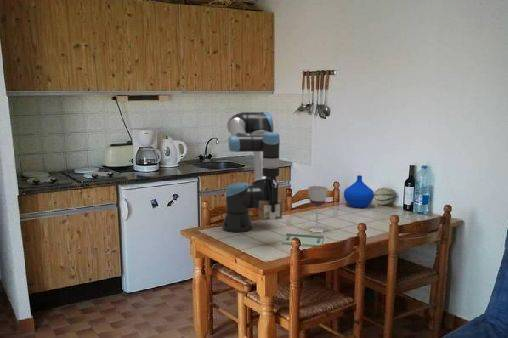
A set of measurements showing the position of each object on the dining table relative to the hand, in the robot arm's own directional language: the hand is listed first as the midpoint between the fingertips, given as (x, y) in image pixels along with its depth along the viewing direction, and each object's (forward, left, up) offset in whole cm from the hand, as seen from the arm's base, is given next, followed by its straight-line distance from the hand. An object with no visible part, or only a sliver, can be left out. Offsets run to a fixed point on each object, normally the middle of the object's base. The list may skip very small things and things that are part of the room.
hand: (270, 217), depth 210 cm
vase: (+37, +85, -13) cm, 94 cm away
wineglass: (+18, +27, -13) cm, 35 cm away
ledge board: (+14, +7, -13) cm, 20 cm away
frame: (0, 0, 0) cm, 0 cm away
